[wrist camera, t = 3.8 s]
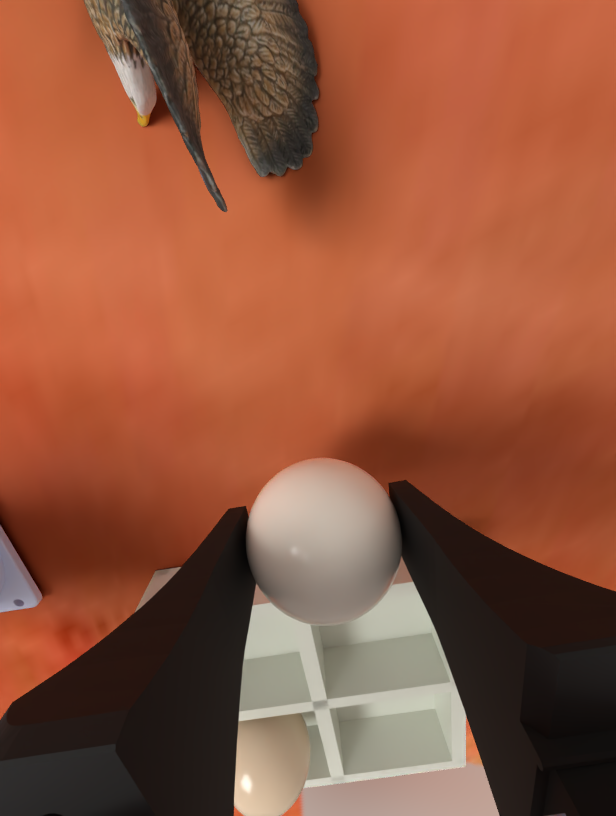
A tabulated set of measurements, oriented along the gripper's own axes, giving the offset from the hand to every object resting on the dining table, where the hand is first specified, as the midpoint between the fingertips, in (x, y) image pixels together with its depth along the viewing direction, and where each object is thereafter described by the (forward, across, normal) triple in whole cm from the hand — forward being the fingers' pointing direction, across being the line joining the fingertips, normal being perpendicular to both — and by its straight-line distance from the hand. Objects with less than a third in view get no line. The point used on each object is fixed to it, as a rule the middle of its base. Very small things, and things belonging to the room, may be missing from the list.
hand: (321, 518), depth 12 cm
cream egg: (+2, 0, 0) cm, 2 cm away
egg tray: (+4, +2, +13) cm, 14 cm away
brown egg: (+4, +6, +17) cm, 18 cm away
